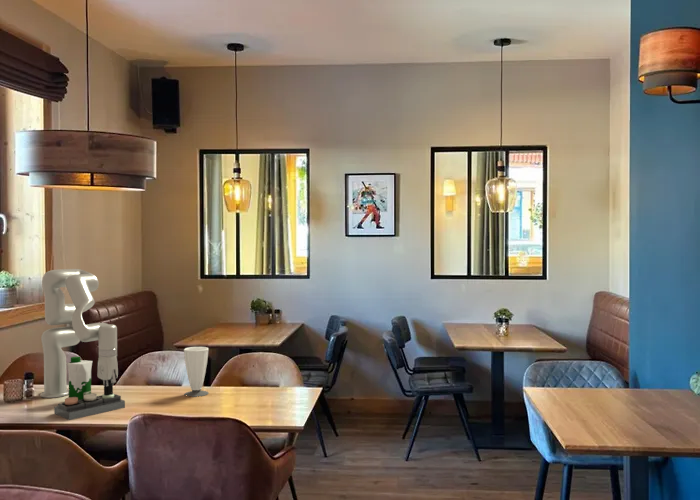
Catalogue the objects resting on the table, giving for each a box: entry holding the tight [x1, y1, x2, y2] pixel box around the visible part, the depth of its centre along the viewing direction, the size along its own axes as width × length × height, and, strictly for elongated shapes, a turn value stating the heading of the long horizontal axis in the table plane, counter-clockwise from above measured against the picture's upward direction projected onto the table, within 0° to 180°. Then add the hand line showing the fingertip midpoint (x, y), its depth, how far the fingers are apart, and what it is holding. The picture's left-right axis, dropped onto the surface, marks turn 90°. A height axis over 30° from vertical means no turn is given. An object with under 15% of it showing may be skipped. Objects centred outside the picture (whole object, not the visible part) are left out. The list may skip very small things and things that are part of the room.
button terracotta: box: [64, 396, 78, 405], centre depth 247 cm, size 5×5×2 cm
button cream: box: [84, 392, 98, 401], centre depth 253 cm, size 5×5×2 cm
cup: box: [183, 346, 210, 398], centre depth 280 cm, size 12×12×22 cm
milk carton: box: [66, 356, 93, 400], centre depth 267 cm, size 9×9×20 cm
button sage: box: [101, 393, 115, 399], centre depth 259 cm, size 5×5×2 cm
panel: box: [53, 393, 126, 421], centre depth 253 cm, size 14×24×5 cm, turn 139°
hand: (108, 394), depth 259 cm, fingers closed
